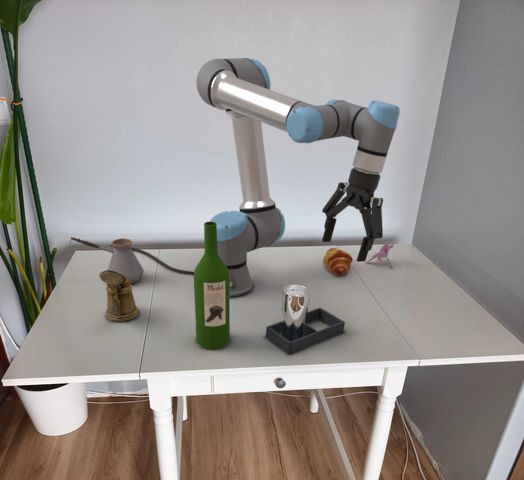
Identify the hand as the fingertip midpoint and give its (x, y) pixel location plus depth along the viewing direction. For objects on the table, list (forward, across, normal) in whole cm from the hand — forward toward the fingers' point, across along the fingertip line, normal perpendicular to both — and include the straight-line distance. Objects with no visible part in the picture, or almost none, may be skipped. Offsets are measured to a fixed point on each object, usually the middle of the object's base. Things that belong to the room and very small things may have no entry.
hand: (342, 251), depth 135 cm
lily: (+16, +19, -46) cm, 52 cm away
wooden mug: (+31, +33, +47) cm, 65 cm away
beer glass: (+24, -3, +14) cm, 28 cm away
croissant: (+19, +26, -31) cm, 45 cm away
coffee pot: (+32, +58, +40) cm, 77 cm away
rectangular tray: (+23, -3, +9) cm, 25 cm away
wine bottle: (+27, +8, +32) cm, 43 cm away
